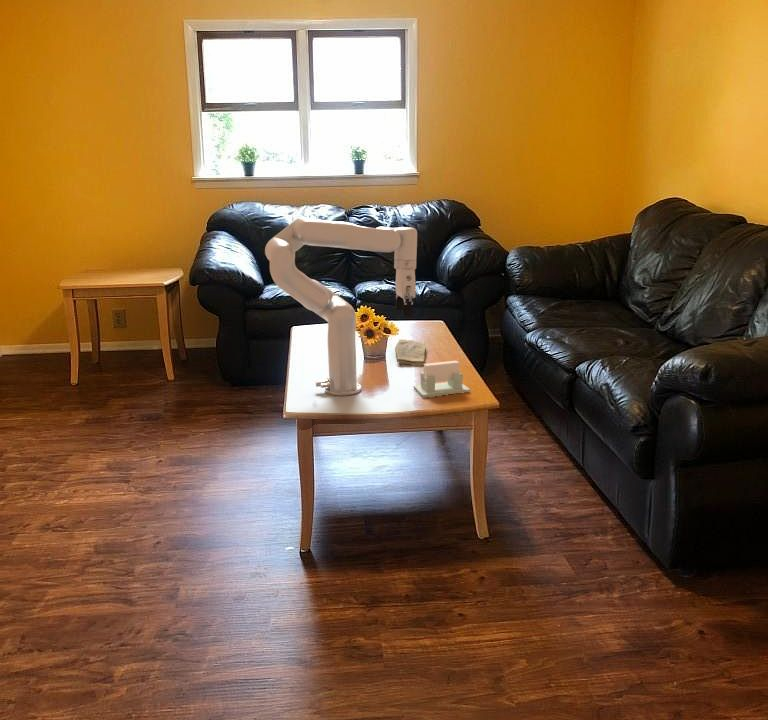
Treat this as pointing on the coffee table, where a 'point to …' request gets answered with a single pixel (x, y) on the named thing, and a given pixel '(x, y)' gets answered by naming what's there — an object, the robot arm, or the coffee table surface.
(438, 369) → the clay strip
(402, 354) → the stone slab
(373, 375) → the coffee table surface
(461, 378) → the grey mounting plate
